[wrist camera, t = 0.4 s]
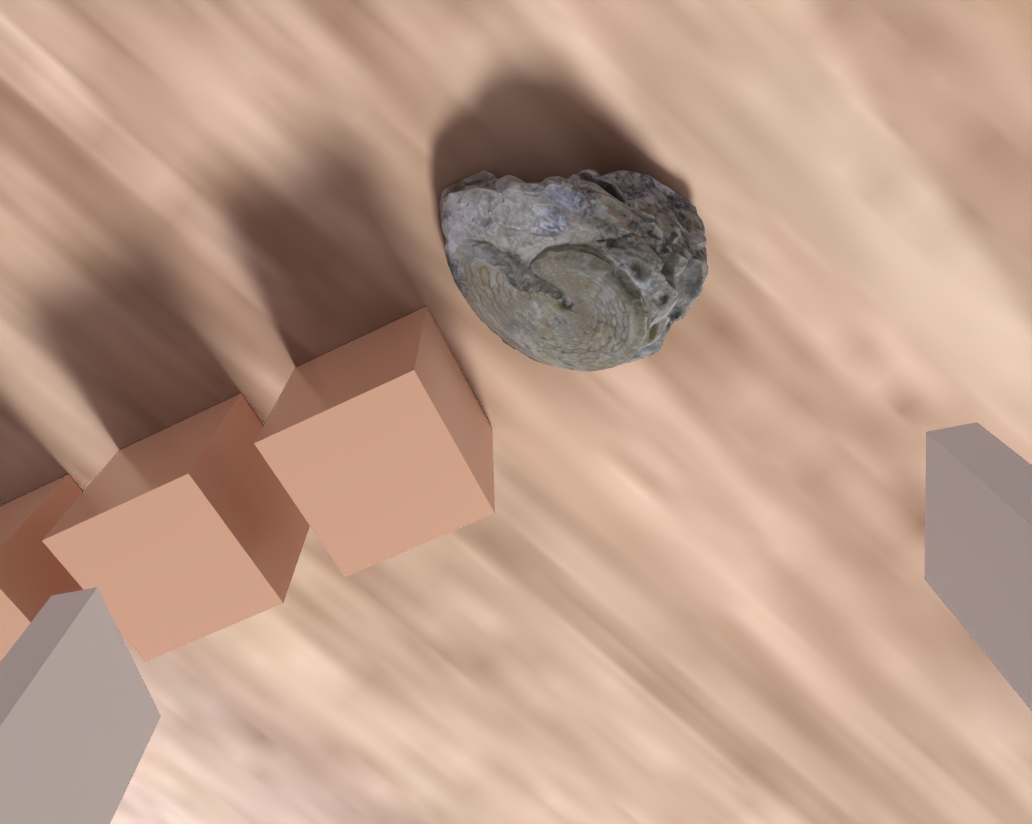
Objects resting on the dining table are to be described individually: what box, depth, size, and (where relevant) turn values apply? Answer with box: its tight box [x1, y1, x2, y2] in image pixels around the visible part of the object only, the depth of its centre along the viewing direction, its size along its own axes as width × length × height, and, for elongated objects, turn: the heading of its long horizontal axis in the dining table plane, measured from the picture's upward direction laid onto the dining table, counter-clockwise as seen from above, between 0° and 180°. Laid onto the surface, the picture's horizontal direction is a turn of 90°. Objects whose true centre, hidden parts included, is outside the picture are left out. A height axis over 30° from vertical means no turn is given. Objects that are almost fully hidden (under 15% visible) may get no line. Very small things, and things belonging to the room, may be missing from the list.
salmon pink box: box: [0, 474, 83, 662], centre depth 40 cm, size 7×7×8 cm
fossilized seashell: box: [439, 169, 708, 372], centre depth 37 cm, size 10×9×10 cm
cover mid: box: [42, 393, 310, 661], centre depth 38 cm, size 7×7×8 cm
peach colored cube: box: [254, 306, 495, 577], centre depth 37 cm, size 7×7×8 cm
